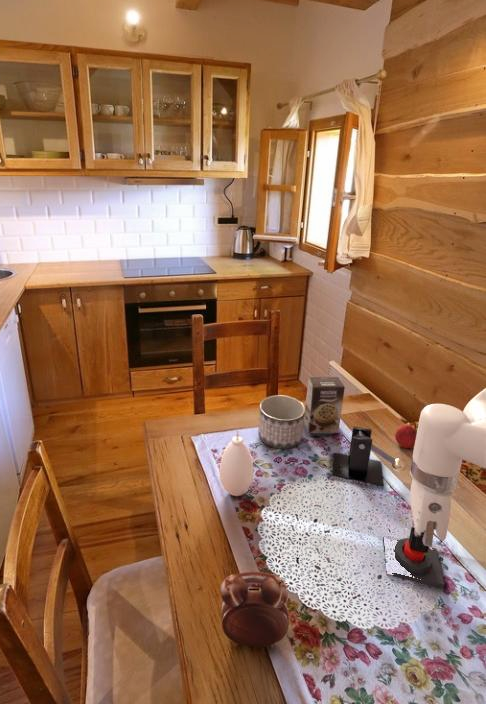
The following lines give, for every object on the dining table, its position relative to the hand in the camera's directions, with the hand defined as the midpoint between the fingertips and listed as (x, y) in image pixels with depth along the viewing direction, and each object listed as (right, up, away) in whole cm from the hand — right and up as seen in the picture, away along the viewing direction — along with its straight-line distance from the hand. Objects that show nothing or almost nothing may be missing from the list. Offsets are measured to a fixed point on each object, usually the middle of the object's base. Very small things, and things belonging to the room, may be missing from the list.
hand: (417, 547), depth 79 cm
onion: (+13, +8, +35) cm, 38 cm away
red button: (0, -2, +1) cm, 2 cm away
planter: (-21, +10, +39) cm, 45 cm away
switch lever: (+1, +10, +23) cm, 25 cm away
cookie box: (-8, +11, +43) cm, 45 cm away
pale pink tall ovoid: (-35, +2, +19) cm, 40 cm away
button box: (0, -4, +2) cm, 5 cm away
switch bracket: (-3, +5, +26) cm, 27 cm away
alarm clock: (-33, -9, -11) cm, 36 cm away
